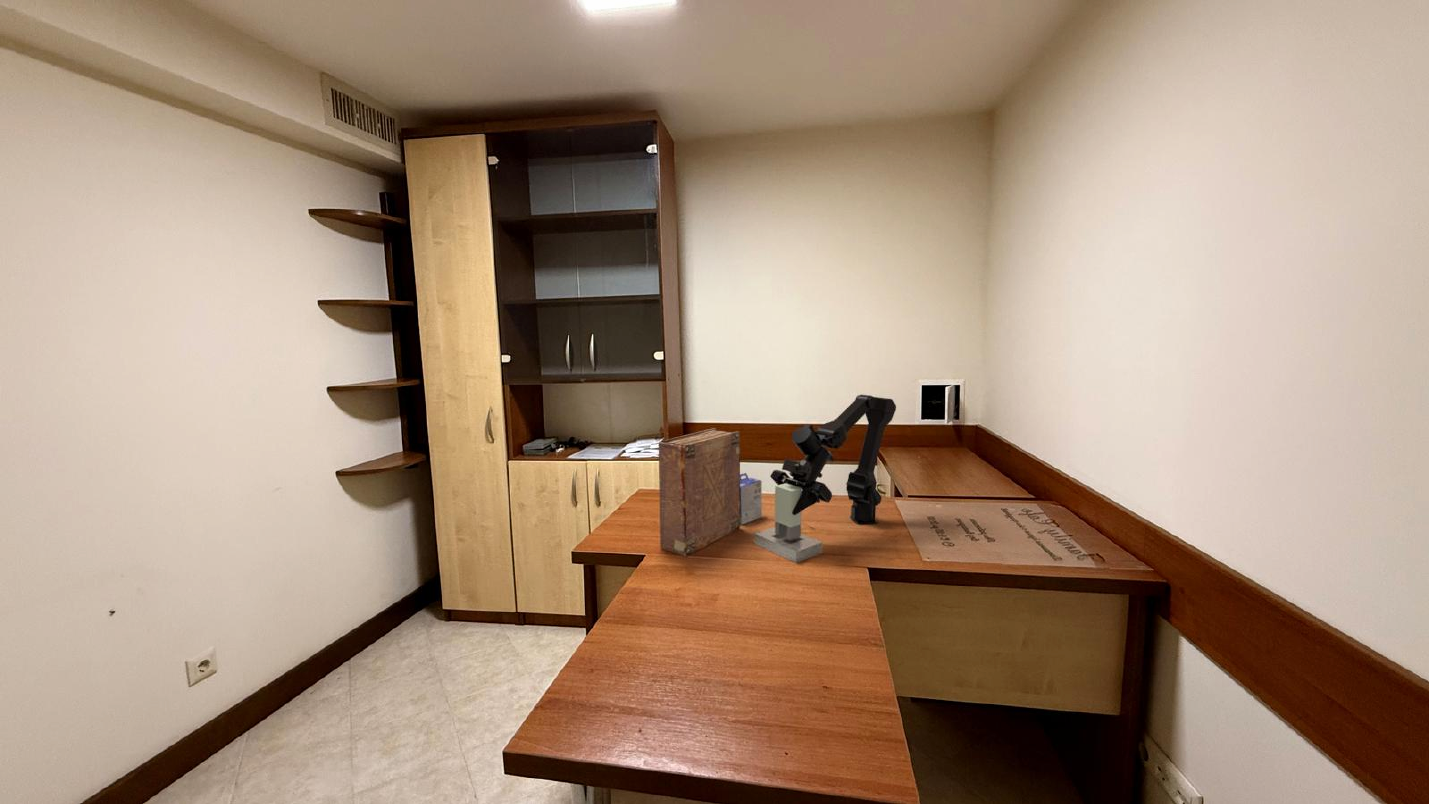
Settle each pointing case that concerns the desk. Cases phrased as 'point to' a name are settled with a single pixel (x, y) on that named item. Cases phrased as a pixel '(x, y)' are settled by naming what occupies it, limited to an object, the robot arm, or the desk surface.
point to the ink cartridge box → (750, 499)
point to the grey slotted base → (788, 545)
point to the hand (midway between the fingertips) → (784, 511)
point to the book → (698, 489)
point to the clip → (787, 510)
